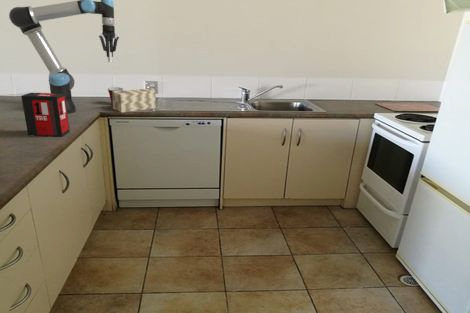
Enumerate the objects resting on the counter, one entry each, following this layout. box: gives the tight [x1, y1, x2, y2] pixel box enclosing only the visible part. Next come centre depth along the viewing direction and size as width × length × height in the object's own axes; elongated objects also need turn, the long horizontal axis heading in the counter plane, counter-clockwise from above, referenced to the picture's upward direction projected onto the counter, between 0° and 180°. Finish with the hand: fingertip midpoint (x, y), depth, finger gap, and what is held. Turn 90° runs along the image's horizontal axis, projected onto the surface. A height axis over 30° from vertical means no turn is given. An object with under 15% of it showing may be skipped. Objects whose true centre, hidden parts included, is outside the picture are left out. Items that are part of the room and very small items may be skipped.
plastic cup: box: [106, 86, 124, 106], centre depth 240 cm, size 11×11×12 cm
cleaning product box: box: [20, 92, 71, 138], centre depth 167 cm, size 16×9×20 cm, turn 92°
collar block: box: [112, 88, 157, 113], centre depth 231 cm, size 26×12×12 cm, turn 134°
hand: (110, 62), depth 226 cm, fingers closed
